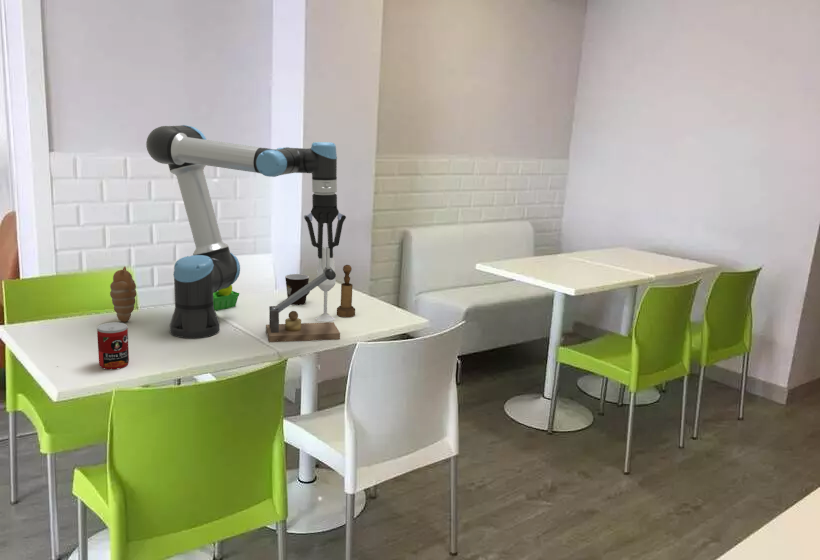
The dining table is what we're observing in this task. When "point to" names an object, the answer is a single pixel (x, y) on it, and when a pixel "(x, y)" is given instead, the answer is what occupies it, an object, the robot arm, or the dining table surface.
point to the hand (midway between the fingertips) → (325, 268)
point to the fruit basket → (225, 298)
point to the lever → (305, 289)
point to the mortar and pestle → (346, 296)
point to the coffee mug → (296, 286)
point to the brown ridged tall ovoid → (123, 294)
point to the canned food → (113, 345)
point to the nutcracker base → (305, 333)
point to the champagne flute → (326, 288)
